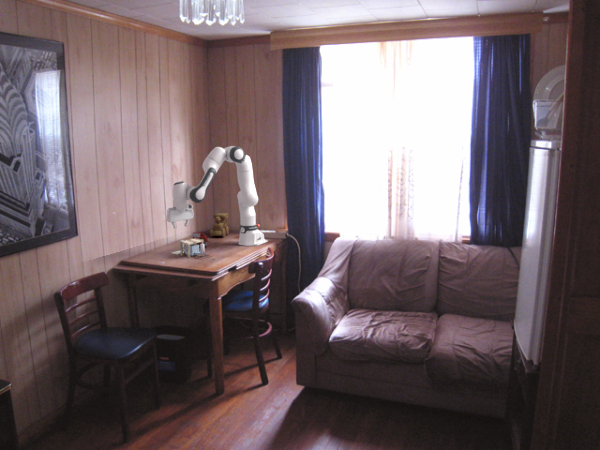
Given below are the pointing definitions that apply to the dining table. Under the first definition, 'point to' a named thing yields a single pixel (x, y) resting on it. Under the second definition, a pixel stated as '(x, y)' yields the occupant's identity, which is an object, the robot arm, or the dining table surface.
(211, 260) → the dining table surface
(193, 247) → the sled
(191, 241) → the tunnel
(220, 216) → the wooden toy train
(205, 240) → the toy fire truck
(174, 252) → the pad
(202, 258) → the pit
